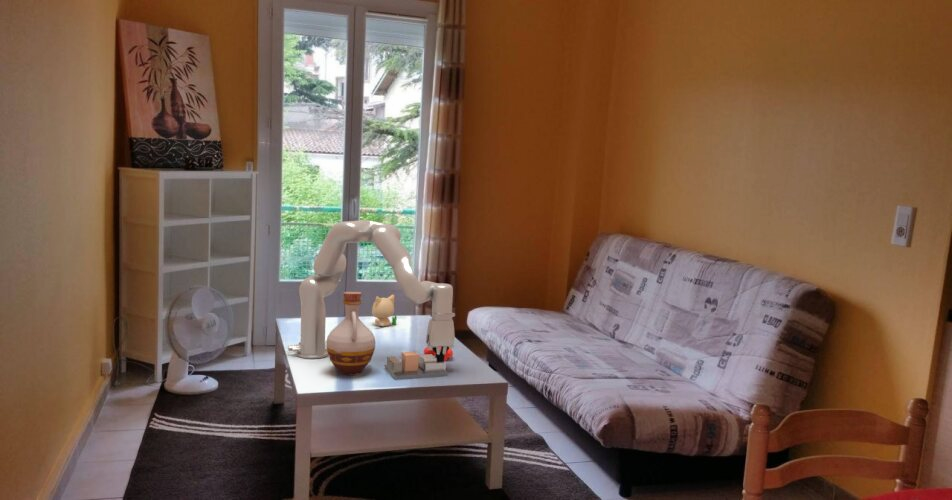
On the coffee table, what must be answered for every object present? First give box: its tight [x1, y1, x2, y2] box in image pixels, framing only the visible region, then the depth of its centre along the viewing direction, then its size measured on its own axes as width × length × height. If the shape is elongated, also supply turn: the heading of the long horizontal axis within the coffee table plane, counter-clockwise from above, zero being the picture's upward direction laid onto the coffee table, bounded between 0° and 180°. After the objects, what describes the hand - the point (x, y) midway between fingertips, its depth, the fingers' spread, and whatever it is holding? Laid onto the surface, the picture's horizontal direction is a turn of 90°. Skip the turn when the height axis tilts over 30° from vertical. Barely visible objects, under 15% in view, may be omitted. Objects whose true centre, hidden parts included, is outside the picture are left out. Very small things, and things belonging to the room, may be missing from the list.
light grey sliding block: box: [418, 354, 437, 370], centre depth 268 cm, size 5×6×4 cm
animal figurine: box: [423, 347, 454, 362], centre depth 289 cm, size 12×15×5 cm
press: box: [384, 355, 448, 381], centre depth 266 cm, size 20×14×6 cm
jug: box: [325, 291, 376, 376], centre depth 260 cm, size 20×18×30 cm
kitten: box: [371, 294, 397, 327], centre depth 338 cm, size 15×10×15 cm
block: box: [400, 350, 420, 371], centre depth 265 cm, size 5×5×6 cm
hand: (439, 363), depth 270 cm, fingers closed
